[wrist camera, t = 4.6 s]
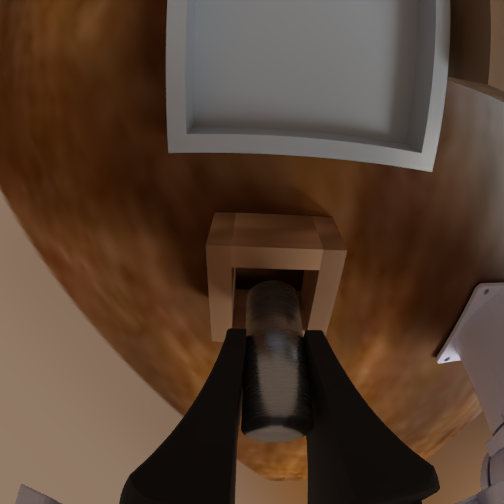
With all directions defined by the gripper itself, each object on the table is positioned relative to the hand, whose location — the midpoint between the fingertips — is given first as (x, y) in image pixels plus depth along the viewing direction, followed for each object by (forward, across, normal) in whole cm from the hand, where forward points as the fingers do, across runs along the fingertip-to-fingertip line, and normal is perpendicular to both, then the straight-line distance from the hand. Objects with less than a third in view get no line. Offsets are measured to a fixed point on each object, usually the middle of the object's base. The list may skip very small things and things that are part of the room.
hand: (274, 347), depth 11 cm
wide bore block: (+6, 0, 0) cm, 6 cm away
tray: (+6, -1, -12) cm, 13 cm away
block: (+6, -10, -13) cm, 17 cm away
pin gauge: (+2, 0, 0) cm, 2 cm away
